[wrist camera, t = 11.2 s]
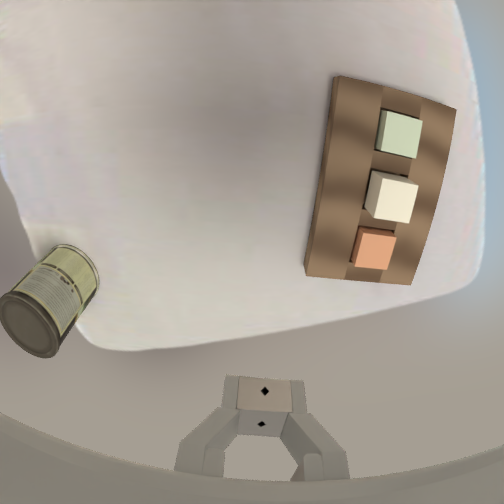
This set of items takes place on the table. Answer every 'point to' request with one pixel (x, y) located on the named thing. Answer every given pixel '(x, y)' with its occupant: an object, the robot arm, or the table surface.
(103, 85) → the table surface
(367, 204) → the cream cube
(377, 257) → the key terracotta
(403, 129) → the key sage
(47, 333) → the coffee can
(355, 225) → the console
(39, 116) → the table surface
